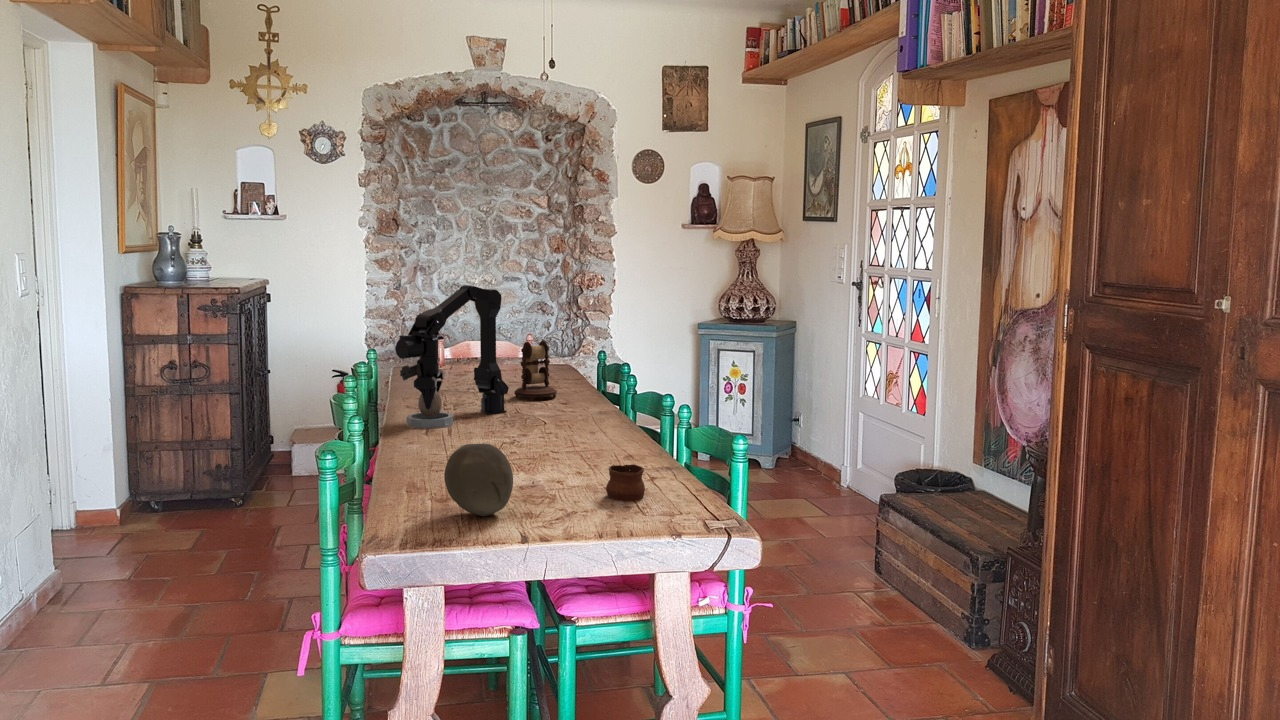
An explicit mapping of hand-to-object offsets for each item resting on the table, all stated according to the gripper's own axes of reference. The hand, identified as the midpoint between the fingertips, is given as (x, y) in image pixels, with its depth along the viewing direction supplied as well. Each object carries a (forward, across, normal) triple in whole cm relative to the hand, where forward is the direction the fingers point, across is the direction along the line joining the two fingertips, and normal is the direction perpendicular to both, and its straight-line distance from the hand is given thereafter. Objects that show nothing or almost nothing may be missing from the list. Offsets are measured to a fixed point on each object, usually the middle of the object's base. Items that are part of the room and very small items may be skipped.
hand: (430, 406), depth 309 cm
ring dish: (+5, 0, 0) cm, 5 cm away
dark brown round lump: (+5, +100, +27) cm, 103 cm away
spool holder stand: (+6, -48, +28) cm, 56 cm away
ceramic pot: (+6, +85, +58) cm, 103 cm away
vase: (+3, 0, 0) cm, 3 cm away
